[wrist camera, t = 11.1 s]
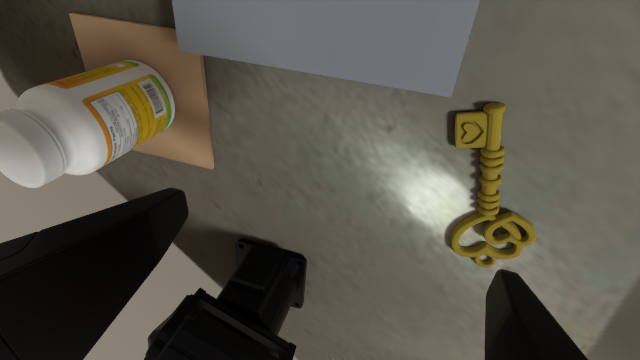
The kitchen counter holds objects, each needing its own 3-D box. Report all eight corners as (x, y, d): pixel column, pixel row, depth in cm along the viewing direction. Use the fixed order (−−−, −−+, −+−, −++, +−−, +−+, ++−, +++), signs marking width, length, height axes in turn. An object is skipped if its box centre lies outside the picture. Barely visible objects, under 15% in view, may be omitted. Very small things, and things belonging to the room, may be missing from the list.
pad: (214, 167, 27) (211, 169, 27) (110, 141, 29) (106, 143, 29) (200, 32, 22) (197, 33, 21) (74, 12, 24) (68, 13, 24)
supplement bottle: (108, 101, 27) (-35, 158, 19) (121, 41, 23) (-43, 80, 16) (166, 143, 27) (51, 217, 19) (187, 90, 24) (59, 152, 16)
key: (451, 111, 19) (558, 103, 17) (451, 103, 20) (552, 95, 18) (450, 269, 25) (530, 275, 23) (450, 256, 26) (526, 261, 24)
